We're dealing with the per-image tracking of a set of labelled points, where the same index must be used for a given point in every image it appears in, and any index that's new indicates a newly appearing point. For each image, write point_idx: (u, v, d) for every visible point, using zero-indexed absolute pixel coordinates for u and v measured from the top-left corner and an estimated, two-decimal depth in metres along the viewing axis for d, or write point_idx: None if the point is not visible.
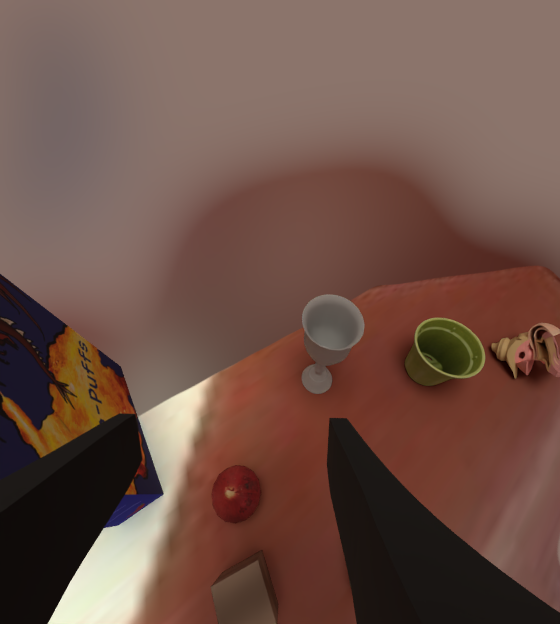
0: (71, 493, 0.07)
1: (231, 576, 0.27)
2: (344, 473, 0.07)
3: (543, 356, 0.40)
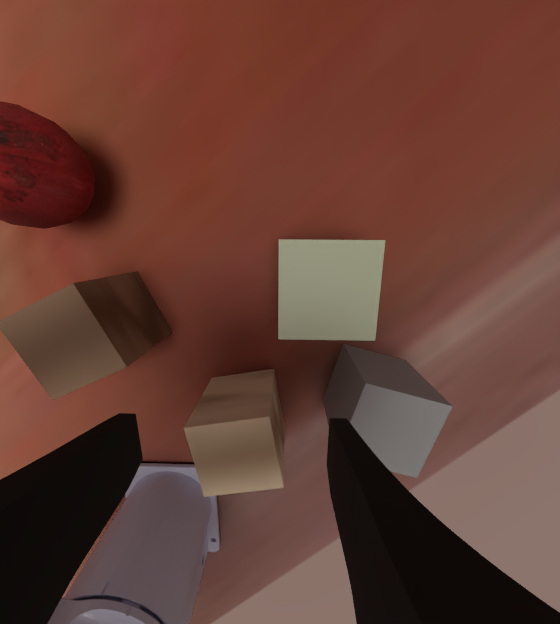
0: (70, 493, 0.07)
1: (28, 308, 0.14)
2: (344, 473, 0.07)
3: None
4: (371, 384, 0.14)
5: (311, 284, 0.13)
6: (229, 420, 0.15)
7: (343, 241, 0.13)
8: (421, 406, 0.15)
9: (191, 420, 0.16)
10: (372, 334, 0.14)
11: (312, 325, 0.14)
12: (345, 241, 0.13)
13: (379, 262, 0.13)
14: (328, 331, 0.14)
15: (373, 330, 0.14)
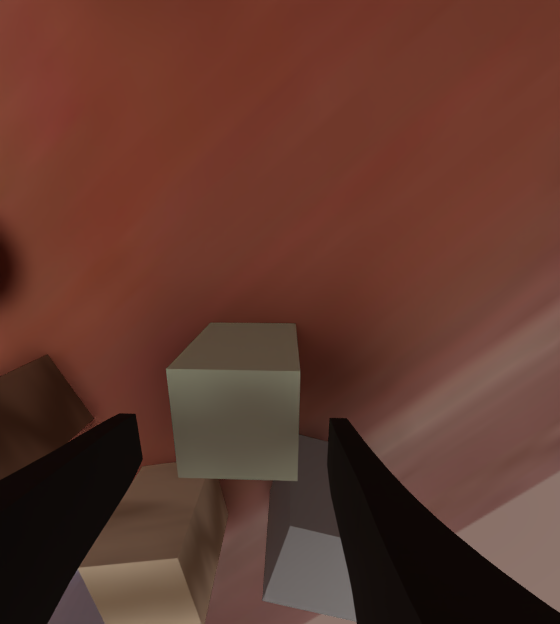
0: (70, 493, 0.07)
1: None
2: (344, 473, 0.07)
3: None
4: (298, 526, 0.12)
5: (212, 419, 0.10)
6: (131, 560, 0.13)
7: (247, 372, 0.10)
8: None
9: (91, 551, 0.13)
10: (293, 474, 0.11)
11: (218, 464, 0.11)
12: (250, 371, 0.10)
13: (295, 395, 0.10)
14: (238, 470, 0.11)
15: (294, 470, 0.11)
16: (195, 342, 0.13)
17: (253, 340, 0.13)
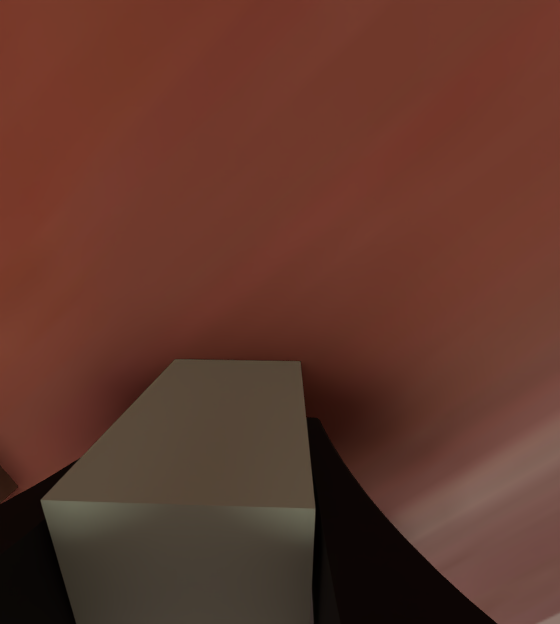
0: None
1: None
2: None
3: None
4: None
5: (143, 586, 0.05)
6: None
7: (206, 508, 0.05)
8: None
9: None
10: None
11: None
12: (212, 507, 0.05)
13: (304, 550, 0.05)
14: None
15: None
16: (134, 409, 0.08)
17: (232, 403, 0.08)
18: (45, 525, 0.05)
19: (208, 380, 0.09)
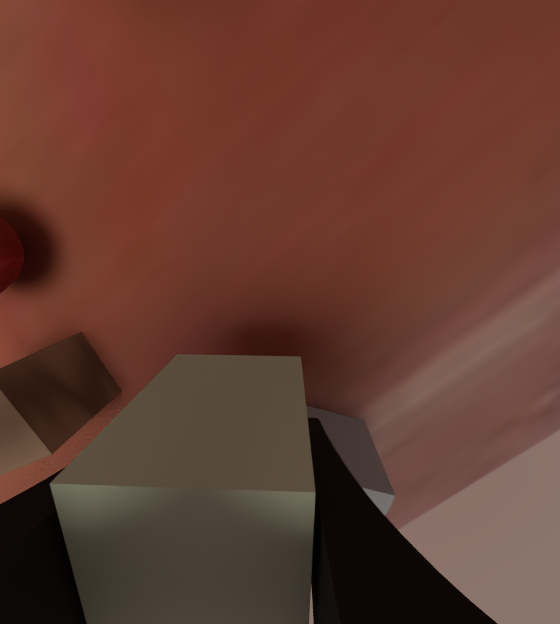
0: None
1: None
2: None
3: None
4: None
5: (147, 568, 0.06)
6: None
7: (209, 492, 0.05)
8: None
9: None
10: None
11: None
12: (215, 491, 0.05)
13: (304, 533, 0.05)
14: None
15: None
16: (138, 400, 0.08)
17: (233, 396, 0.08)
18: (45, 525, 0.05)
19: (210, 374, 0.09)
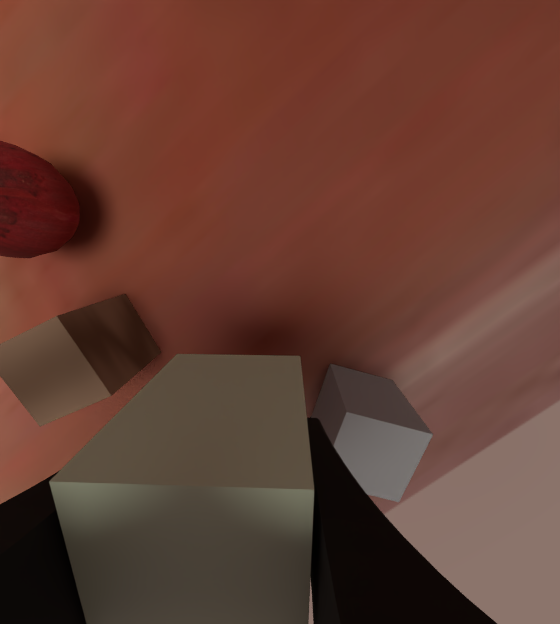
0: None
1: (14, 339, 0.14)
2: None
3: None
4: (352, 412, 0.15)
5: (147, 567, 0.06)
6: None
7: (208, 489, 0.05)
8: (402, 434, 0.15)
9: None
10: None
11: None
12: (214, 489, 0.05)
13: (303, 531, 0.05)
14: None
15: None
16: (137, 399, 0.08)
17: (233, 395, 0.08)
18: (45, 525, 0.05)
19: (210, 373, 0.09)
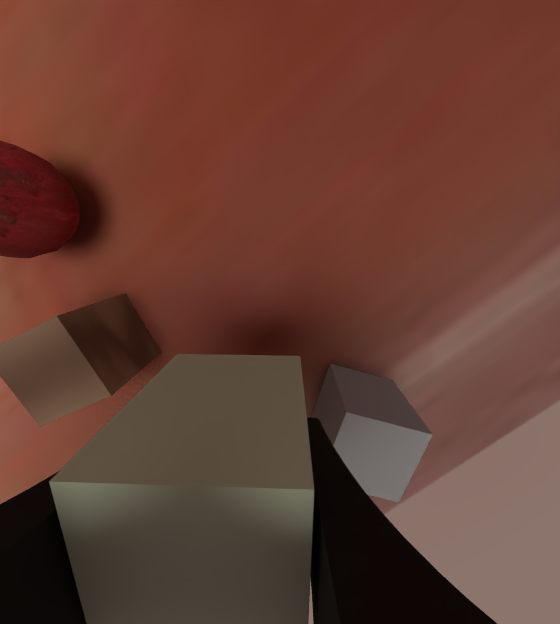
0: None
1: (14, 339, 0.14)
2: None
3: None
4: (352, 413, 0.15)
5: (147, 567, 0.06)
6: None
7: (208, 489, 0.05)
8: (402, 434, 0.15)
9: None
10: None
11: None
12: (214, 489, 0.05)
13: (303, 531, 0.05)
14: None
15: None
16: (137, 399, 0.08)
17: (233, 395, 0.08)
18: (45, 525, 0.05)
19: (210, 373, 0.09)
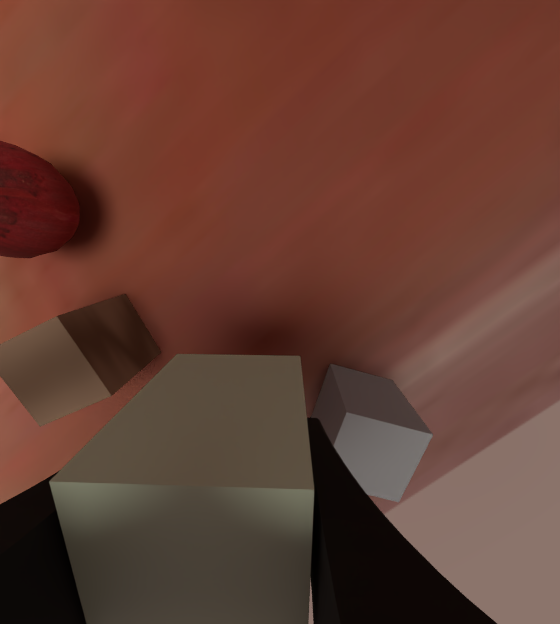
0: None
1: (14, 339, 0.14)
2: None
3: None
4: (352, 413, 0.15)
5: (147, 567, 0.06)
6: None
7: (208, 489, 0.05)
8: (402, 434, 0.15)
9: None
10: None
11: None
12: (214, 489, 0.05)
13: (303, 531, 0.05)
14: None
15: None
16: (137, 399, 0.08)
17: (233, 395, 0.08)
18: (45, 525, 0.05)
19: (210, 373, 0.09)
